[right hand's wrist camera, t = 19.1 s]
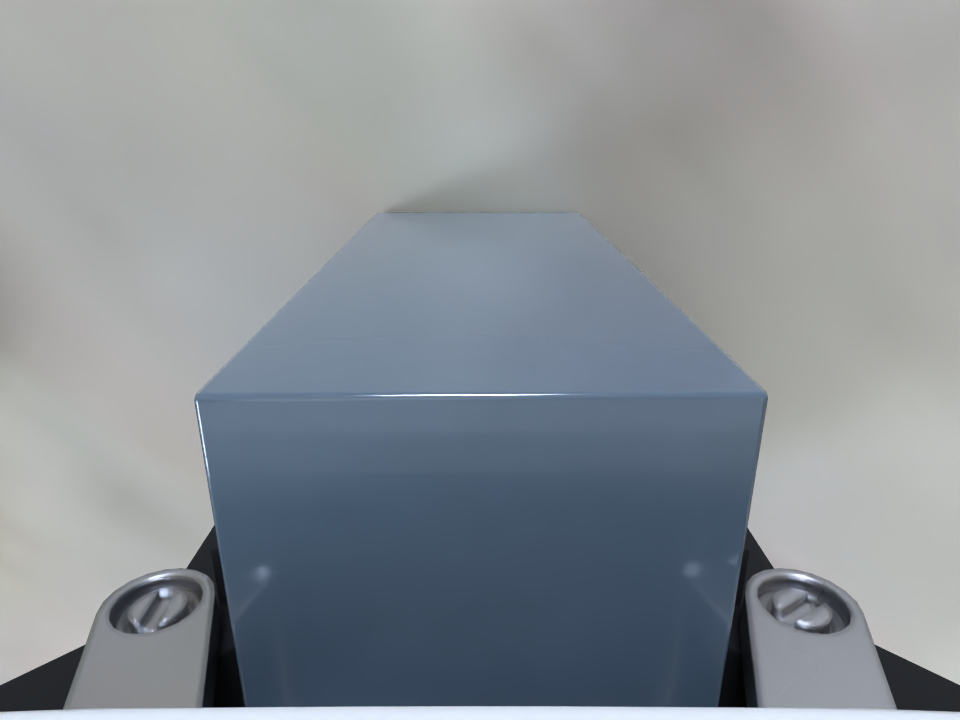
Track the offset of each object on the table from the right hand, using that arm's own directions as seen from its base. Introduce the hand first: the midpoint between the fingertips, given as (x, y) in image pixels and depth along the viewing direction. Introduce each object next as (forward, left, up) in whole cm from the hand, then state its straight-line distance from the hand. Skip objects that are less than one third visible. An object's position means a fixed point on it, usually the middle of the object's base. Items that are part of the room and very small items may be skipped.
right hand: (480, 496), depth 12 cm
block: (0, 0, -6) cm, 6 cm away
